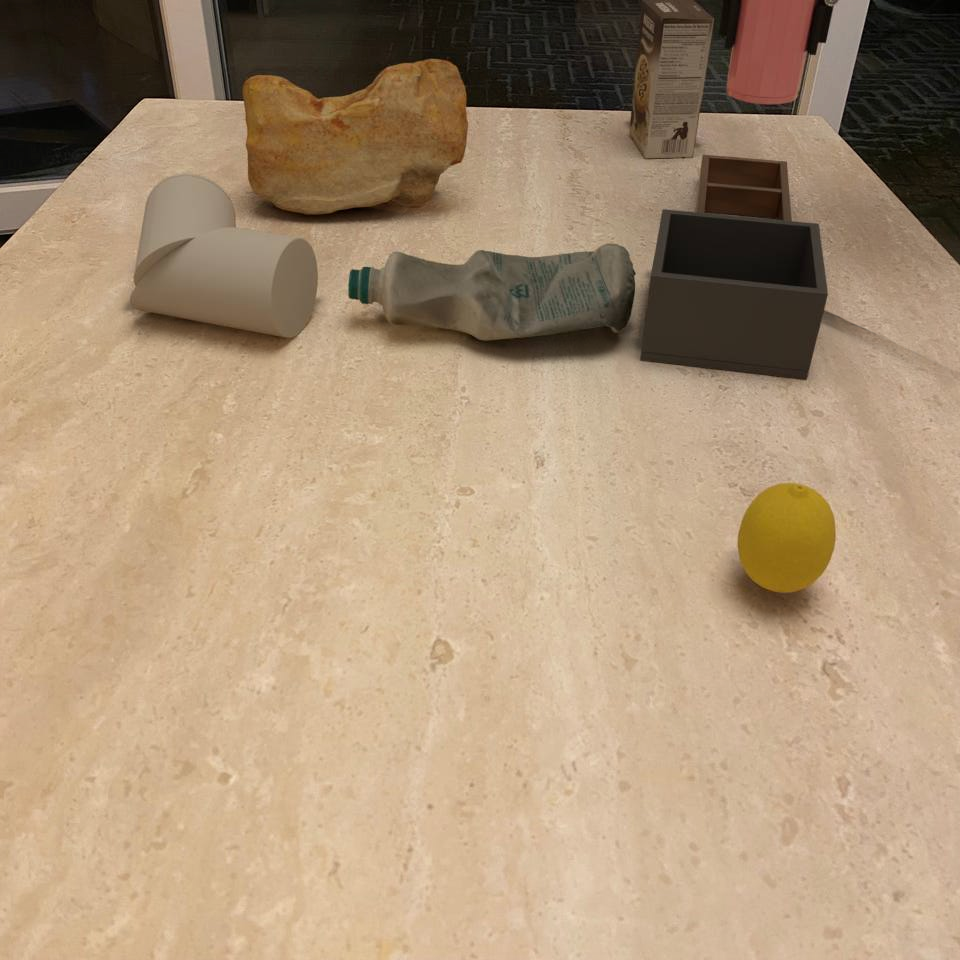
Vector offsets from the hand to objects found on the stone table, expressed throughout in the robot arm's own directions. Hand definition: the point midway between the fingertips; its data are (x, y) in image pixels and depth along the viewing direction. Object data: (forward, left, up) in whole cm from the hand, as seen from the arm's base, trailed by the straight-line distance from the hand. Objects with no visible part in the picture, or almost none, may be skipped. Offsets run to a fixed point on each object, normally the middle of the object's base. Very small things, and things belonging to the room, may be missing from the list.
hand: (769, 46), depth 89 cm
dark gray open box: (+13, +10, -20) cm, 26 cm away
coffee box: (-17, -26, -20) cm, 37 cm away
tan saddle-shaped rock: (+21, -35, -20) cm, 46 cm away
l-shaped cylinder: (+45, -22, -20) cm, 54 cm away
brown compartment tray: (-8, -6, -20) cm, 22 cm away
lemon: (+35, +34, -20) cm, 53 cm away
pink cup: (0, 0, -4) cm, 4 cm away
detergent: (+28, -3, -20) cm, 35 cm away
